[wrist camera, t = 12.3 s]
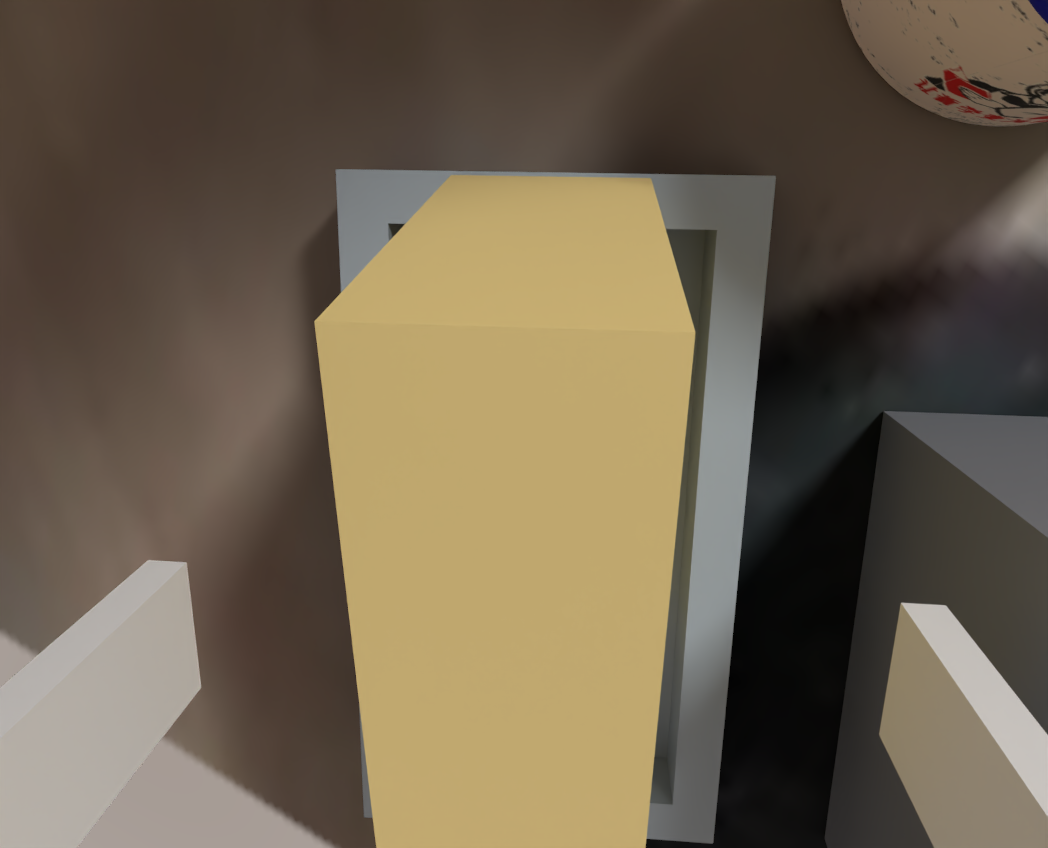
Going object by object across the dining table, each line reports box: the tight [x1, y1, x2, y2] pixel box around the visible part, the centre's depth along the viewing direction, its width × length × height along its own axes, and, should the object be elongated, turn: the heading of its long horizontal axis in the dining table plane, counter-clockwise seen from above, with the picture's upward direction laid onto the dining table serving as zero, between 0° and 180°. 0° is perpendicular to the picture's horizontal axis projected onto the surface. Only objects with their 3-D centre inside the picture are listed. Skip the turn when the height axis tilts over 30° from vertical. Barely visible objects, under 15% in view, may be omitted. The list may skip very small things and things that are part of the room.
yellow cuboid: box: [314, 175, 696, 848], centre depth 17 cm, size 12×4×10 cm, turn 179°
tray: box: [336, 169, 776, 844], centre depth 23 cm, size 18×10×3 cm, turn 179°
